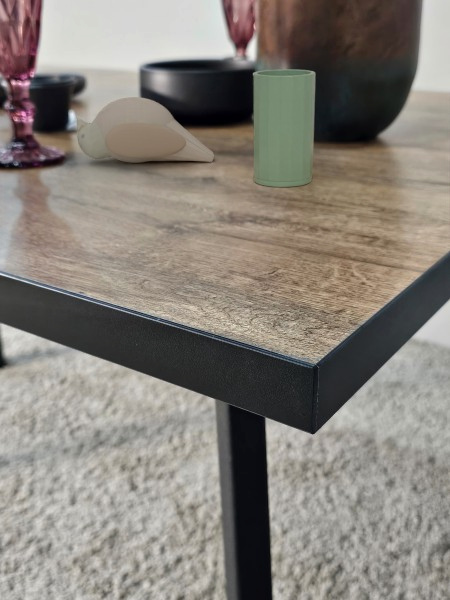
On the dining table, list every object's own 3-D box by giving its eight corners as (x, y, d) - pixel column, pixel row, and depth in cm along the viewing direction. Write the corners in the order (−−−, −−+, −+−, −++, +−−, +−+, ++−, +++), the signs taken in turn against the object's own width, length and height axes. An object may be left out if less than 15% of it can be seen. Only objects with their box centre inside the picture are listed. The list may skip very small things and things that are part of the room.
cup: (245, 184, 77) (244, 75, 73) (264, 171, 83) (264, 68, 78) (303, 189, 75) (305, 76, 71) (318, 175, 81) (321, 69, 76)
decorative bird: (81, 156, 92) (75, 94, 89) (210, 151, 93) (208, 89, 90) (77, 173, 84) (70, 105, 81) (218, 166, 85) (216, 99, 82)
